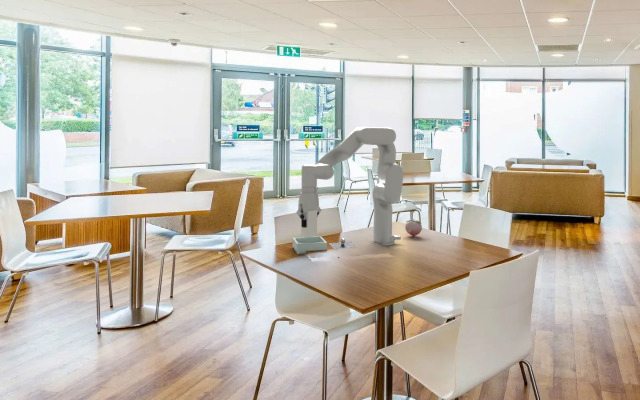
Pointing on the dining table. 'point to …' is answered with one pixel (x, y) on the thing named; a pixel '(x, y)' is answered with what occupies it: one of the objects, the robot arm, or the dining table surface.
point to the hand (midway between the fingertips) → (309, 226)
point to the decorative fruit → (413, 227)
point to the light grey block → (310, 224)
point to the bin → (308, 244)
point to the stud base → (338, 245)
